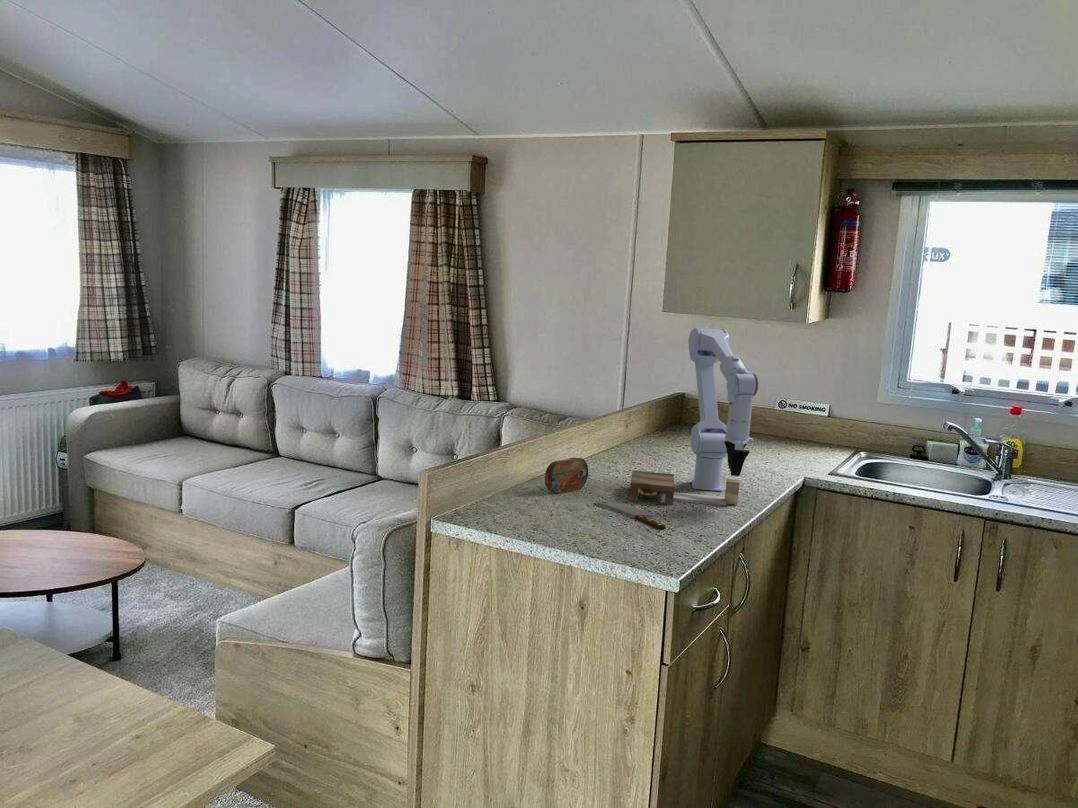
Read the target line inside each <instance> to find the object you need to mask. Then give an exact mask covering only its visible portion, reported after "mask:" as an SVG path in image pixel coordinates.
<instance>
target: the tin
mask: <svg viewBox="0 0 1078 808" xmlns="http://www.w3.org/2000/svg"><path fill="white" fill-rule="evenodd" d="M544 474H545V475H544V483H545V487H546V489H547V490H548V491H550V492H551V493H555V494H559V495H560V493H561V494H565V493H568V492H573V491H578V490H581V489H582V488H583V487H584V486H585V484H586V482H587V479H588V477H589V467H588V463H587V461H586V460H585V459H584V458H582V457H569V458H565V459H561V460H560V459H559V460H555V461H552V462H551V463H549V465H548V466H547V468H546V470H545V473H544Z"/></svg>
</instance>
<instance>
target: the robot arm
mask: <svg viewBox="0 0 1078 808" xmlns="http://www.w3.org/2000/svg"><path fill="white" fill-rule="evenodd" d="M729 345H730V335H729V333H728V330H727V329H725V328H722V329H716V328H698V327H694V328H692V330H690V332H689V337H688V350H689V359H690V361H692V362H693V363H694V366H695V376H696V385H697V386H696V387H697V388H696V389H697V398H698V400H697V401H698V410H699V411H698V412H699V420H700V421H698V422H697V423H696V424H695V425H693V427H692V429H691V432H690V433H691V436H690V448H691V451H692V452H693V454H694V455H695V466H694V467H695V468H694V474H693V475H694V477H693V479H691V488H692V489H693V490H703V491H713V492H714V491H715V492H723V486H722V484H721V482H722V481H721V480H722V470H723V462H724V461H723V460H724V458H726V456H727V466H728V470H729V472H730V476H732V477H740V475H741V473H742V470H743V466H744V463H745V460H746V459H747V457H748V455H749V454H750V452H751V451H750V449H745V448H746V446H747V444H748V443H749V442H752V443H753V442H754V438H753V437H750V429H751V428H750V427H751V419H752V411H753V410H752V409H753V400H754V397H755V396H756V395H757V393H758V390H759V380H758V379H759V378H758V377H757V374H756V373H755V372H749V371H748V370H747V368H746V367H745V365H744V364H743V362H742V360H741V359H740V358H739V356H738V355H737V356H736V355H734V354H733V352H732V350H731V348H730V346H729ZM719 362H720V364H719V370H720V372H721V373H722V375H723V377H724V379H725V380H726V391H727V397H726V398H727V401H728V414H727V424H725V423H724V422H722V421H721V420H720V419H719V409H718V401H717V400H718V399H717V390H716V379H715V377H716V376H715V371H714V370H715V369H714V365H715V364H716V363H719Z"/></svg>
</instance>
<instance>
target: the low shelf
mask: <svg viewBox="0 0 1078 808" xmlns="http://www.w3.org/2000/svg"><path fill="white" fill-rule="evenodd" d="M629 487H630V488H629V499H628V500H629V502H638V497H639V496H638V488H643V489H654V490H658V491H664V493H665V495H664V505H671V506H672V505H673V504H674V501H673V496H674V492H675V474H674V473H663V472H655V471H654V472H652V471H641V470H632V471H631V477H630V485H629Z"/></svg>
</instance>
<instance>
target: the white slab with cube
mask: <svg viewBox="0 0 1078 808" xmlns="http://www.w3.org/2000/svg"><path fill="white" fill-rule="evenodd" d="M725 483H726V485H725V494H724V496H718V495H706V494H696V493H687V492H686V493H683V492H675V491H674V496H673V502H679V501H680V503H681V502H682V503H689V502H691V504H700V503H702V504H703V503H704V504H703V505H711V504H714V505H713V506H722V505H726V506H727V504H735V505H734V506H738V501H739V493H740V490H739V489H740V481H739V479H729V478H726V482H725ZM702 504H701V505H702ZM715 504H716V505H715Z"/></svg>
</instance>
